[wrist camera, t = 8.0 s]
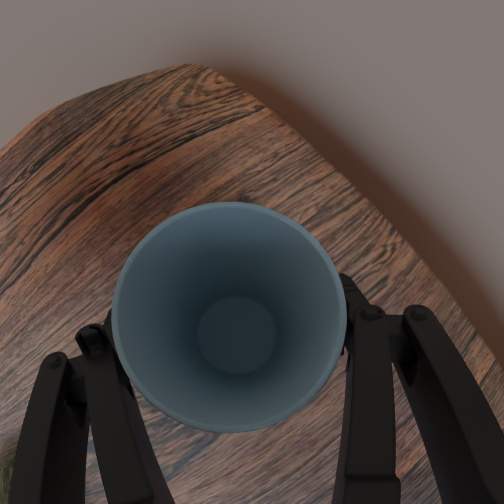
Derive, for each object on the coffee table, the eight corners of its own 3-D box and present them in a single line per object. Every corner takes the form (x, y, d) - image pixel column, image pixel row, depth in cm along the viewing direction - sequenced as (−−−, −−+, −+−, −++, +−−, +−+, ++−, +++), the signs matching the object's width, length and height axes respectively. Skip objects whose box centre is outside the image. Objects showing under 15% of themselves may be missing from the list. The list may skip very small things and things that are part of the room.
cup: (227, 254, 21) (210, 164, 11) (320, 322, 19) (388, 286, 10) (156, 342, 19) (72, 323, 9) (249, 415, 17) (251, 475, 8)
